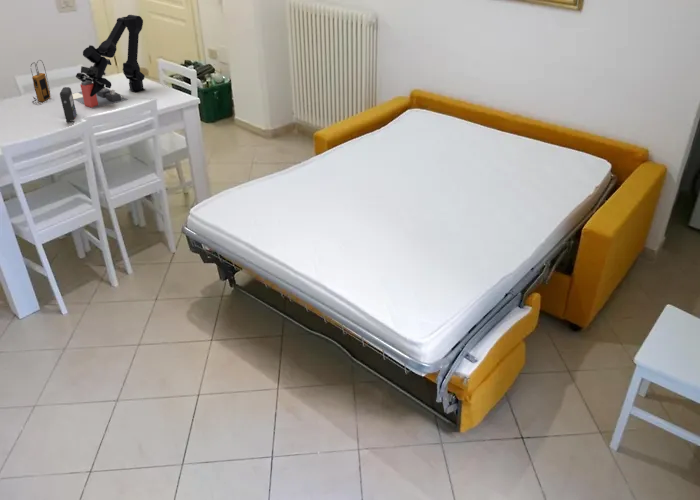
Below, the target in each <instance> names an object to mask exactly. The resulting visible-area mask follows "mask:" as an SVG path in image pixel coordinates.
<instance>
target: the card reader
mask: <svg viewBox="0 0 700 500" xmlns="http://www.w3.org/2000/svg"><path fill="white" fill-rule="evenodd" d="M72 94H73V92H72V88H70V87H69V86H64V87H63V88H62V89H61V91H60V92H59V97H60V102H61V104H62V105H61V106H62V109H63V114H64V118H65V121H66V122H67V123H70V124H71V123H74V122H75V121H74V120H76V117H77V116H78V114H77V110H76V109H77V108H76V105H75V100H73V96H72Z"/></svg>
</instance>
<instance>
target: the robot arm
mask: <svg viewBox="0 0 700 500" xmlns="http://www.w3.org/2000/svg"><path fill="white" fill-rule="evenodd" d="M143 25H144V19H143V18H142V16H140V15H136V14H135V15H134V14H128V15H127V16H122V17H118V18H117V19H116V22H115V24H114V27H112V29H111V31H110V33H109V35H108V37H107V38H106V39H105V40H103V41H102V42H101V43H100V44H99V46H98V47H97V48H96V47H95V46H94V45H91V44H89V45H88V47H86V48H84V50H83V51H82V56H83V57H84V58H85V59H87V60H88V62H90V63H92V64H93V66H92V65H91V66H89V67H87V66H80V72H77V73H76V75H75V78H76V79H78V80H79V81H81V82H84V81H87V80H90V81H92V82H93V88H92V91H91V94H90V96H91V97H92V96H94V95H95V94H96V93H97V92H99V91H100V90H102V89H104V88H107V89H111V87H112V82H111V81H110V80H108V79H107V78H106V77H103V76H106V74H107V73H106V69H107V67H108V66H112V61H111V60H110V58H114V56H115V55H116V52H117V44H118V43H119V41H120V38H121V37H122V36H123V33H124V32H125V30H126V28H127V31H128V43H127V59H126V62H123V63H122V72H123V75H124V76H125V78H126V80H128V85H129V91H130V92H133V93H140V92H143V91H146V88H144V83H143V81H144V80H145V77H146V76H145V74H143V72H141V67H140V65H139V62H138V56H139V55H138V53H139V37H140V36H139V35H140V32H141V31H142V30H143ZM108 58H109V59H108ZM104 86H105V87H104Z"/></svg>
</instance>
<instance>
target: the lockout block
mask: <svg viewBox="0 0 700 500" xmlns="http://www.w3.org/2000/svg"><path fill="white" fill-rule="evenodd" d="M79 85H80V88H81V89H80V90H81V92H82V95H83V99H84V104H85V105H84V104H83V105H84V107H89V108H90V107H94V106H97V105H98V101H97V96H96V94H95V95H94V96H92V97H91V96H90V94H91V91H92V88H93V83H92V81H90V80H87V81H84V82H82V81H81V83H80V84H79Z"/></svg>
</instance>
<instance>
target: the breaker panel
mask: <svg viewBox="0 0 700 500" xmlns="http://www.w3.org/2000/svg"><path fill="white" fill-rule="evenodd" d="M92 83H93V82H92ZM104 87H105V86H104ZM72 96H73V100H74V101H76V102H78V103H81V104H82V105H84V106H85V104H84V99H83V95H82V91H77V92H74V93H73V92H72ZM96 96H97V101H98V105H97V106H94V107H89V108H91V109H92V110H93V109H98V108H102V107H105V106H110V105H115V104H117V103H120V102H121V103H122V102H124V101H129V99H127V98H125V97H124V96H123V95H121V94H120V93H118V92H116V90H114V89H110V88H106V87H105V88H104V89H102V90H100V91H99V92H97V93H96Z"/></svg>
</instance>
